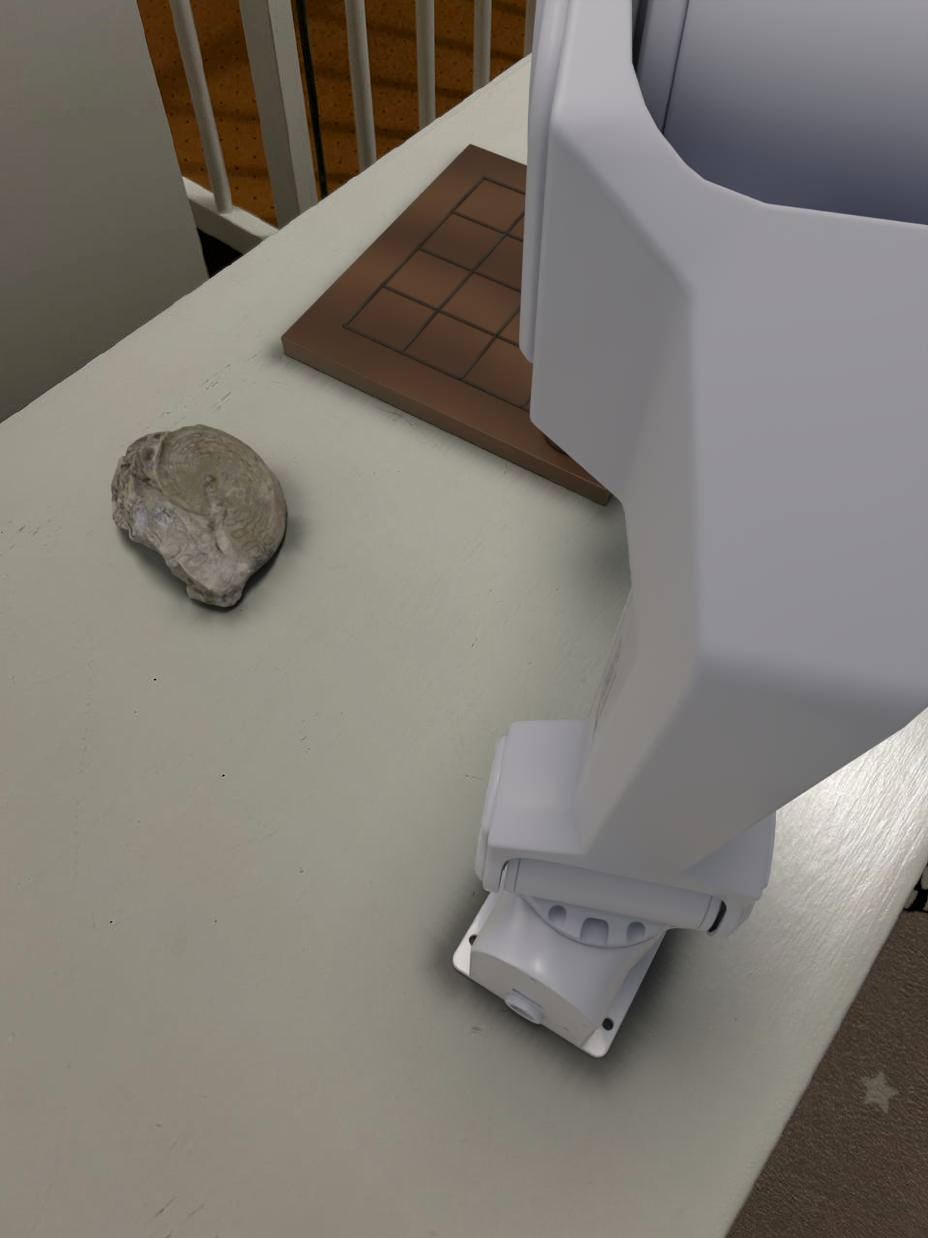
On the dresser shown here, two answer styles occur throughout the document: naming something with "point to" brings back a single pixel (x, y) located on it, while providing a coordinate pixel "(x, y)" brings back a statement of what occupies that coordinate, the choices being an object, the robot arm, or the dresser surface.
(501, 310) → the board
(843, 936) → the dresser surface
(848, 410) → the robot arm
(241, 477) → the fossilized seashell
